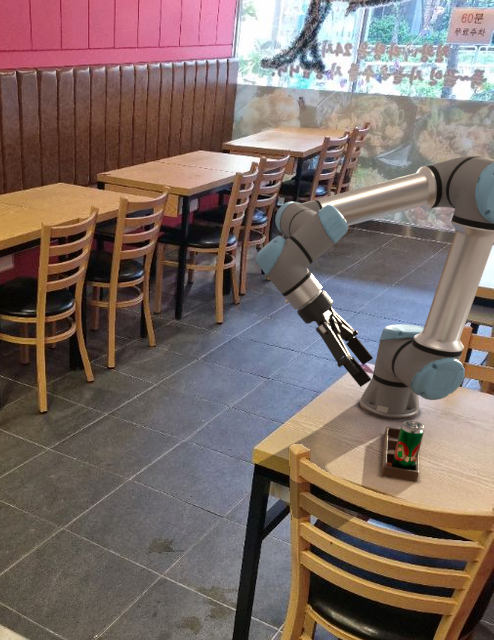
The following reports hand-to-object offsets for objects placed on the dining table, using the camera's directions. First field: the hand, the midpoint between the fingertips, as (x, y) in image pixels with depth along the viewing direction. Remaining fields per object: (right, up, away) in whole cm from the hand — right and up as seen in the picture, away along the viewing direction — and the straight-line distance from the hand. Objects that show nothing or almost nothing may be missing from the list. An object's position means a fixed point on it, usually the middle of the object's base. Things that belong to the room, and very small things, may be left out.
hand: (367, 371), depth 169 cm
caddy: (+11, -19, +11) cm, 24 cm away
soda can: (+10, -23, +5) cm, 25 cm away
